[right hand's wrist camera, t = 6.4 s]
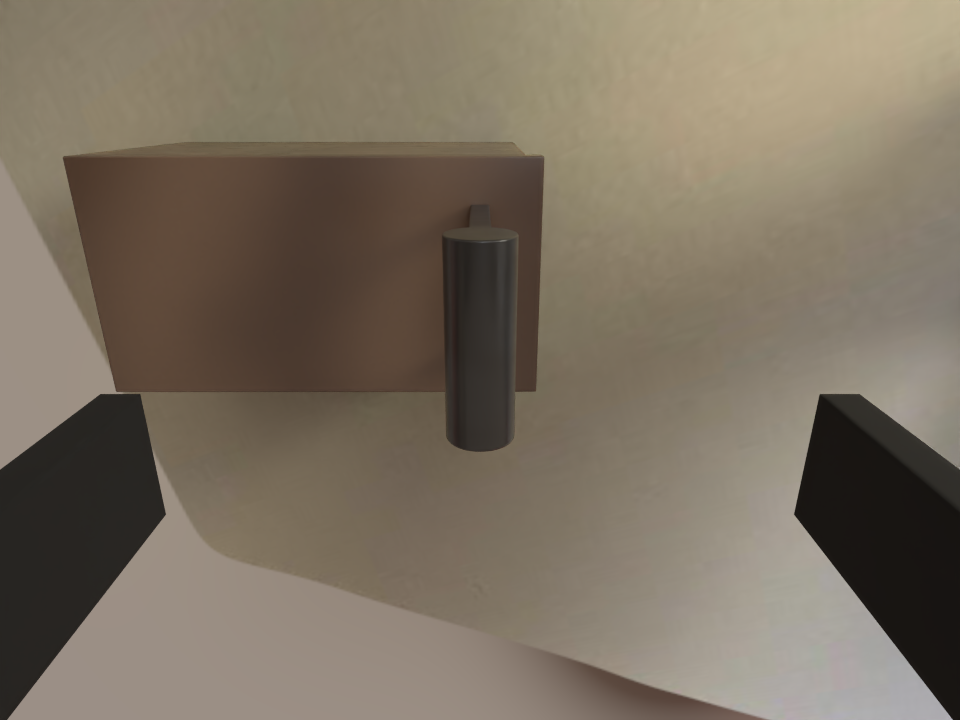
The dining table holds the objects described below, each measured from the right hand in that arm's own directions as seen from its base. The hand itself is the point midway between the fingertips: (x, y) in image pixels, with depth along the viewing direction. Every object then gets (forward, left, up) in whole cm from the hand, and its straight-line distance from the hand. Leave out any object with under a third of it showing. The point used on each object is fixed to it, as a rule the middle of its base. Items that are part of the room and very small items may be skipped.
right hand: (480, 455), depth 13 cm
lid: (+2, -6, -14) cm, 16 cm away
